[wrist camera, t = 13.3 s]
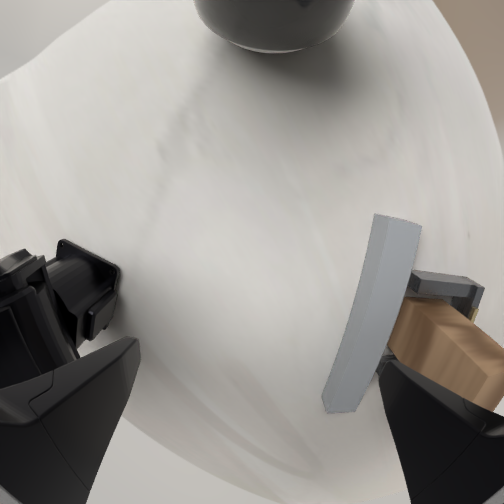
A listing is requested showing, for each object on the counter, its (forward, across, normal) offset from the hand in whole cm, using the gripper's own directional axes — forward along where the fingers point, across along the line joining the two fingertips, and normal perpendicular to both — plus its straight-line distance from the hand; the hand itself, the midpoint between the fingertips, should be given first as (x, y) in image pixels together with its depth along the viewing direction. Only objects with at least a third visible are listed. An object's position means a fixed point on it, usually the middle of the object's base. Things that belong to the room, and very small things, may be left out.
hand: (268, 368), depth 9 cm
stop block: (+12, -16, +4) cm, 20 cm away
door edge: (+12, -10, +4) cm, 16 cm away
